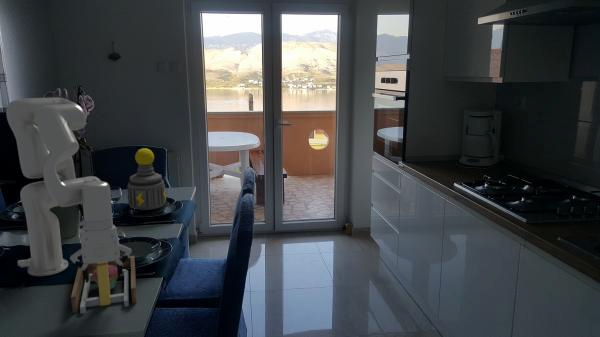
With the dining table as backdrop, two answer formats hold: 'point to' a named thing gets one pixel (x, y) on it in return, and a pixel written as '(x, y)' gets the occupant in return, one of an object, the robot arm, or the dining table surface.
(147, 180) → the decorative lamp
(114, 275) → the cupcake
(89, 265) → the bay
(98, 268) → the frame
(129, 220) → the dining table surface
